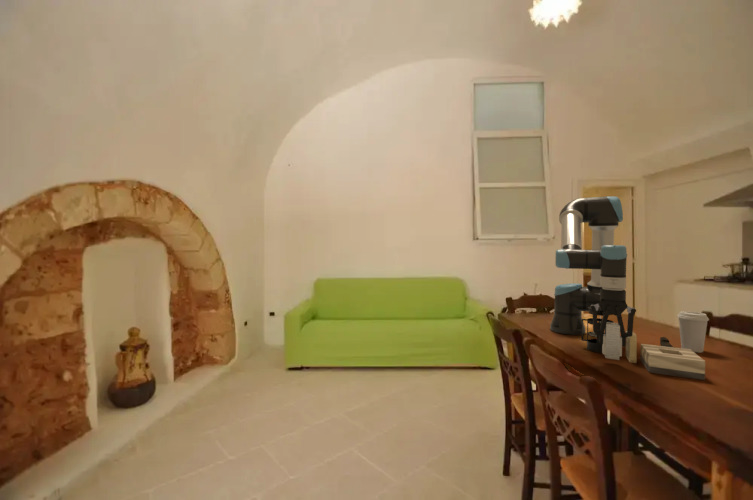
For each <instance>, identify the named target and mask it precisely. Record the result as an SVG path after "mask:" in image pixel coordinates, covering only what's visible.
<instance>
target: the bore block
mask: <svg viewBox="0 0 753 500" xmlns="http://www.w3.org/2000/svg"><path fill="white" fill-rule="evenodd" d="M639 356H640V361H641V363H642V364H643V366H644V367H645V369H646V371H648V373H652V374H658V375H659V374H660V375H666V376H672V377H680V378H687V379H694V380H700V381H706V360H705V359H703V358H702V357H700V356H699V355H698V354H697V352H693V351H692V350H691V349H683V348H681V347H675V348H674V346H673V347H665V346H661V345H655V344H647V343H646V344H645V343H640V355H639Z"/></svg>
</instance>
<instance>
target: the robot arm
mask: <svg viewBox="0 0 753 500" xmlns="http://www.w3.org/2000/svg"><path fill="white" fill-rule="evenodd" d="M558 220H559V224H560V226H561V228H560V229H561V233H560V234H561V235H560V237H561V238H560V241H561V243H560V249H556V250H555V267H556V268H558V269H566V270H567V269H572V270H573V269H575V270H591V272H590V273H591V275H590V280H589V281H588V282H587V283H586V284H587V285H586V286H583V285H582V283H573V282H572V283H562V284H558V285H556V286H555V288H554V315H553V317H552V319H551V323H550V327H549V328H550V331H552V332H554V333H558V334H564V335H570V336H571V335H572V336H573V335H574V336H582V319H583V318H582V312H588V313H589V309H588V308H587V307H591V309H592V311H593V314H592V318H593V325H592V332H594V333H597V334H599V343H600V344H602V353H601V354H602V355H604V354H606V336H605V334H604V333H605V327H606V323H607V320H609V319H608V318H609V317H610V316H612V315H613V316H616V320H617V323H618V324H619V325H620V354H619V357H622V356H623V347H625V348H626V337H631V336H632V335H633V332H634V316H635V314H636V312H637V309H636V308H635V307H631V306H628V303H627V291H626V288H627V258H628V254H627V247H626V246H625V245H623V244H621V245H618V244H615V229H617V228H618V227H619V223H622V222H623V220H624V213H623V206H622V201H621V199H620V198H619V197H618V196H613V195H612V196H611V195H610V196H607V195H606V196H595V197H579V198H575V199H572V200H571V201H569V202H568V203H566V205H564V207H563V208H562V209H561V210H560V212H559V217H558ZM582 223H584V224H585V223H588V228H589V229H591V249H583V245H582V243H583V241H582V226H581V225H582ZM595 293H600V298H599V295H596V294H595ZM598 307H600V308H601V309H602V310H603V311H604V314H603V316H602V317H601V319H602V322H601V326H600V329H599V330H598V329H597V322H598V321H597V318H598V315H597V310H598ZM626 310H627V311H626ZM625 311H626V312H627V313H628V315H627V327H626V329H625V326H624V321H623V316H622V314H623V312H625ZM626 330H627V332H626ZM586 331H587V328H586V325H585V322H583V335H585V334H586Z"/></svg>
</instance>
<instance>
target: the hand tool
mask: <svg viewBox="0 0 753 500" xmlns="http://www.w3.org/2000/svg"><path fill="white" fill-rule="evenodd" d="M659 342H660V343H659V344H660V345H659V346H665V347H674V346H673V345H672V344H671V343H670V340H669V339H668V338H667V337H665V336H661V337H660V338H659ZM674 348H676V347H674Z"/></svg>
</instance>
